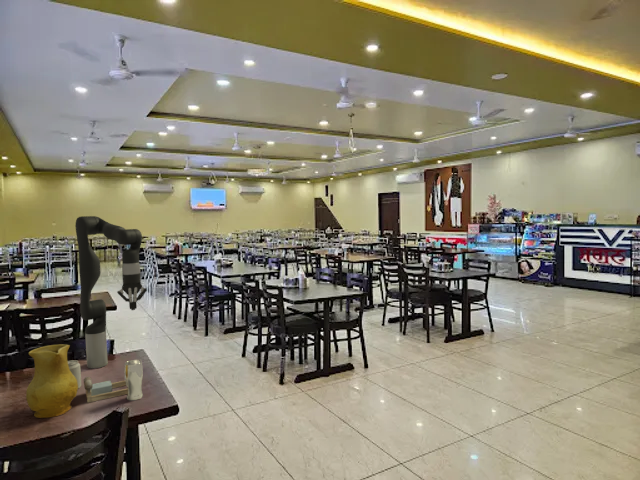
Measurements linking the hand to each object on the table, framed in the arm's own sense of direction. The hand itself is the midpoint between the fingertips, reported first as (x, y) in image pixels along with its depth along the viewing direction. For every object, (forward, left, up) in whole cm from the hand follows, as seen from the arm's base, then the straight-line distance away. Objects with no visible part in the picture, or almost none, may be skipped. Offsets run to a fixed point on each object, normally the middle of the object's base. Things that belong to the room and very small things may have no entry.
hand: (133, 309), depth 196 cm
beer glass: (+23, -4, -32) cm, 40 cm away
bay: (+12, -13, -32) cm, 37 cm away
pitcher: (+17, -32, -32) cm, 49 cm away
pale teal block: (+11, -16, -32) cm, 37 cm away
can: (-2, -26, -32) cm, 41 cm away
